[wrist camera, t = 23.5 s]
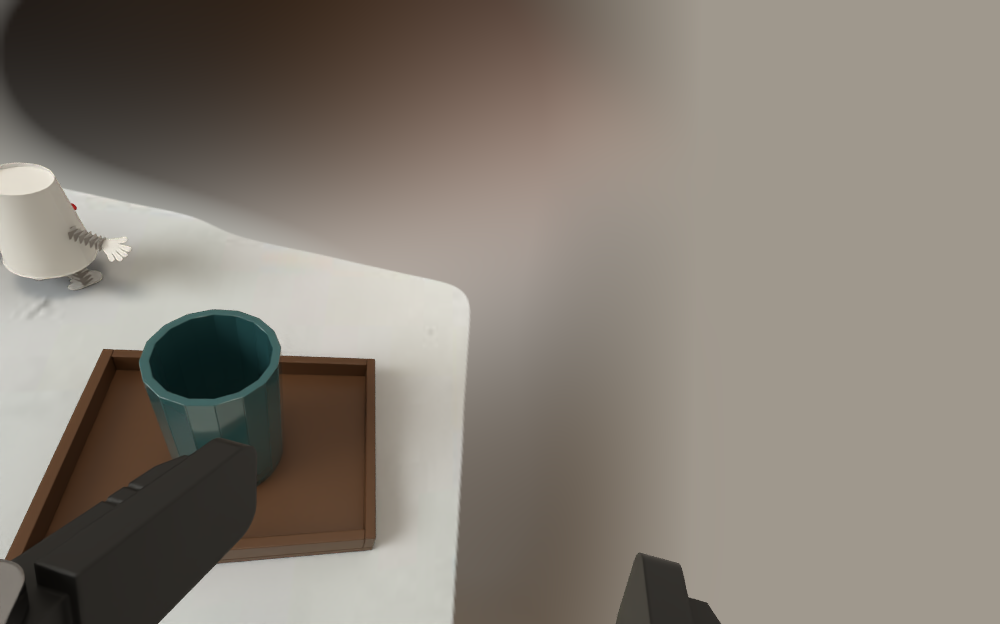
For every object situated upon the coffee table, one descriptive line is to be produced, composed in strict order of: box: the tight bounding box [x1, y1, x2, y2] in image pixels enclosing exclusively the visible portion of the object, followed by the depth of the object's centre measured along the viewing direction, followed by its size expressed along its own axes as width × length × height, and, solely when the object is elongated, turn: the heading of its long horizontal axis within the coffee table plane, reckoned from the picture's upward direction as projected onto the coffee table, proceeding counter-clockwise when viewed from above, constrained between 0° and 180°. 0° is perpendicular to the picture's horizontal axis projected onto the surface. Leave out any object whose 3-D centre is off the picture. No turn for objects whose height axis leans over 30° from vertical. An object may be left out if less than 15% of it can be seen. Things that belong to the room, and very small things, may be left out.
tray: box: [5, 349, 376, 563], centre depth 31 cm, size 17×13×2 cm
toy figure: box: [0, 163, 131, 290], centre depth 34 cm, size 12×6×8 cm, turn 83°
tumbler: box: [139, 309, 284, 486], centre depth 27 cm, size 6×6×10 cm
